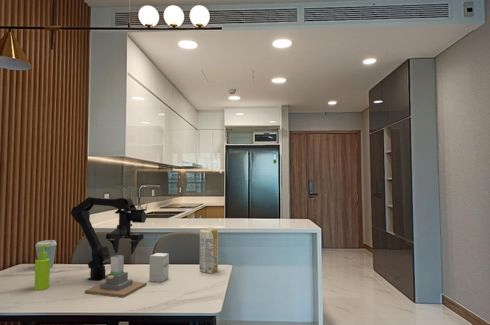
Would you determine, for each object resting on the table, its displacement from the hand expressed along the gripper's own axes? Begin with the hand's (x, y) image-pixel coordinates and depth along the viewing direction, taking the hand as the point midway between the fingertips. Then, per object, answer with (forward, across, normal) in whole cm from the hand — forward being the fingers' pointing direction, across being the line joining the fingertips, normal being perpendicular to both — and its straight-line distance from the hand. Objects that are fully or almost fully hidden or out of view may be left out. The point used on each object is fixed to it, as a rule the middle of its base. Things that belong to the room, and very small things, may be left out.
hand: (124, 253), depth 177 cm
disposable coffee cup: (+13, -57, +8) cm, 59 cm away
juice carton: (+13, +35, +27) cm, 46 cm away
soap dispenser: (+13, -28, -22) cm, 38 cm away
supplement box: (+13, +17, +5) cm, 22 cm away
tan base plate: (+13, +6, -14) cm, 20 cm away
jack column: (+8, +6, -14) cm, 17 cm away
